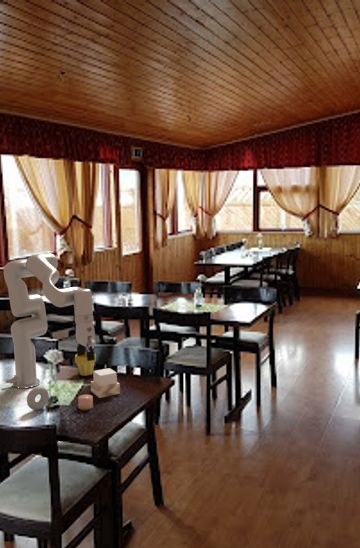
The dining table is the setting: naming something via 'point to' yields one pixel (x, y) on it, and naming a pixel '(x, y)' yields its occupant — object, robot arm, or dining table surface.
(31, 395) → the donut
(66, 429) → the dining table surface
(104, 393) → the tower base block
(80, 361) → the plant pot
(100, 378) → the tower top block
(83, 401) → the terracotta cylinder
